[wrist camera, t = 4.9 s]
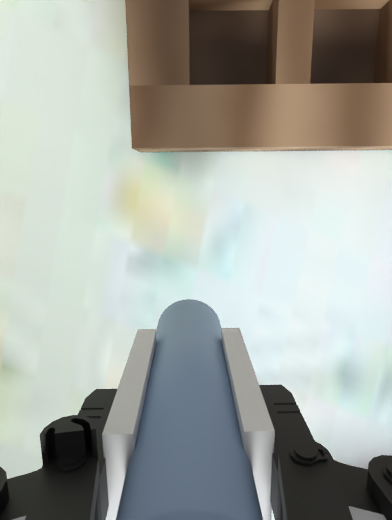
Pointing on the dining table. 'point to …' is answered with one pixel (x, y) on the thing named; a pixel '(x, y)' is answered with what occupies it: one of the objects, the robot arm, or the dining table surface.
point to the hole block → (260, 75)
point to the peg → (189, 429)
